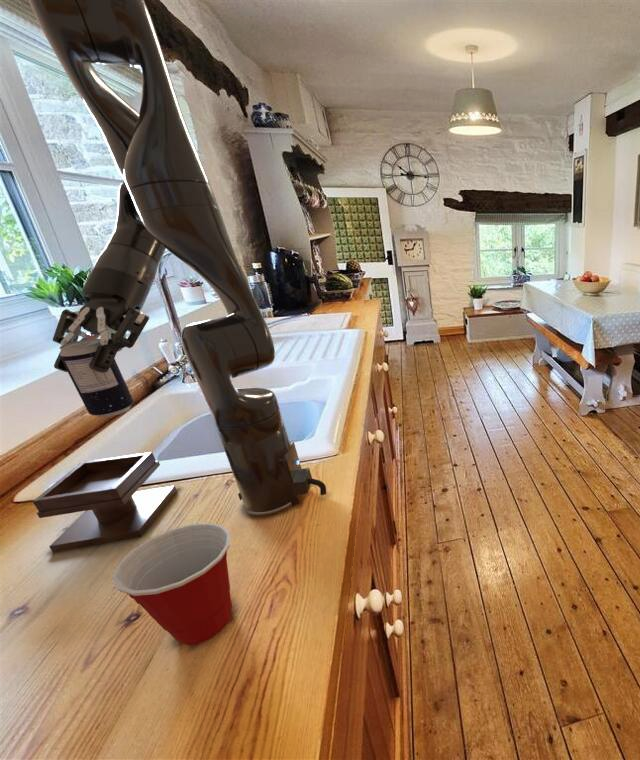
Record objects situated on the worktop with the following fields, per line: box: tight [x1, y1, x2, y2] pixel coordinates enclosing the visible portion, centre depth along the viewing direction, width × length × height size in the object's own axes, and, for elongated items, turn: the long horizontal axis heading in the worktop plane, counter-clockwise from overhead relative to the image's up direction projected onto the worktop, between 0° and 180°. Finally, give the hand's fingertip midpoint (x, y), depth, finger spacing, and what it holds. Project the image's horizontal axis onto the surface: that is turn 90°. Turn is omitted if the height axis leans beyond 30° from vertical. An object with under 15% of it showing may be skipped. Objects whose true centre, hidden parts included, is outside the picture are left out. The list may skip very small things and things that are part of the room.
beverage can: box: [59, 338, 135, 419], centre depth 66 cm, size 6×6×12 cm
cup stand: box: [32, 451, 178, 553], centre depth 68 cm, size 12×12×9 cm
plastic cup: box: [111, 522, 233, 647], centre depth 49 cm, size 11×11×12 cm
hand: (80, 370), depth 63 cm, fingers closed on beverage can, 5 cm apart
